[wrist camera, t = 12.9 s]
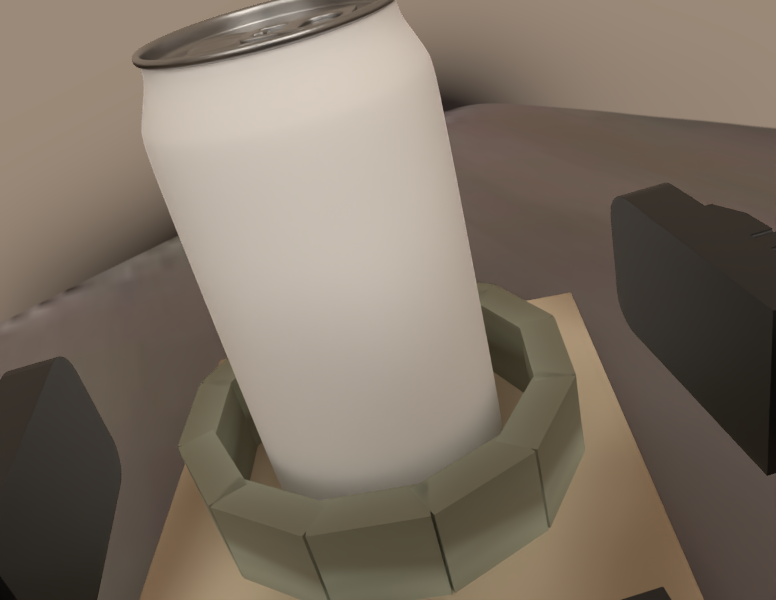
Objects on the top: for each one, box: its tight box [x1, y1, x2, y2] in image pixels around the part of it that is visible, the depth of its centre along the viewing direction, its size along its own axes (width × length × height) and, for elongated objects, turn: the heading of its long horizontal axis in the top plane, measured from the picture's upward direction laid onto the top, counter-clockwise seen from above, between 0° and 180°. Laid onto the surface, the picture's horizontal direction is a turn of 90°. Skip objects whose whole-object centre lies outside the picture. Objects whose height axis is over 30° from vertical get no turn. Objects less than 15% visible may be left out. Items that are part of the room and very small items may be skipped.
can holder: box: [139, 282, 704, 600], centre depth 21 cm, size 13×13×4 cm
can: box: [132, 0, 502, 500], centre depth 18 cm, size 6×6×12 cm
